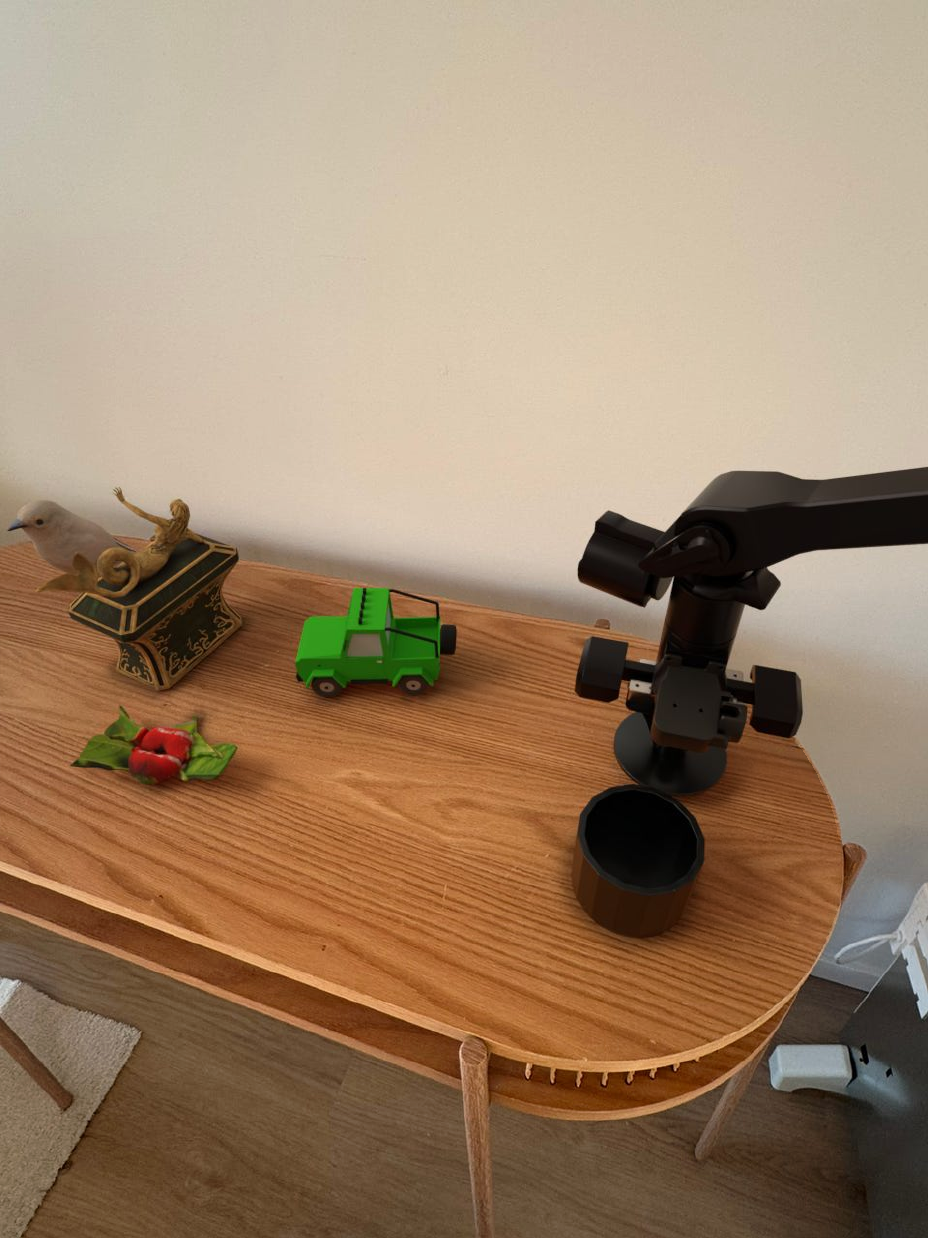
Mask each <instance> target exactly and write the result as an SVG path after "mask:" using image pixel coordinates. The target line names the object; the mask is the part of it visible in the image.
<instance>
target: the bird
mask: <svg viewBox="0 0 928 1238" xmlns="http://www.w3.org/2000/svg"><path fill="white" fill-rule="evenodd" d="M18 529H21V530H23V532H25V534H26V536H27V537H28V538H29V540H30V541H31V543H32V544H33V547H34V549H35V551H36V553H37V555H39V558H40V559H42V560H43V561H44V562H45V563H46V564H48V565H50V566H51V567H53V568H56V569H58V570H60V571H62V572H65V573H72V574H74V575H77V574H78V572H77V571H76V570H75V569H74V568H73V565H72V562H73V556H74V554H75V553H76V552H79V553H81V554H82V555H84V556H85V557H86V558H88V559H89V560H90V561H91V562H92V563H93V564H94V566H95V567H96V570H97V562H98V559H99V557H100V555H101V554H102V553H103V552H104V551H106V550H107V549H110V548H123V549H126V550H128V551H130V552H131V553H132V554H134V553H135V552H137V551H138V550H137V549H135V548H133V547H132V545H131V544H129V543H127V542H124V541H123V540H121V539H118V538H116V537H115V536H113V535H112V534H111V533H110V532H108V531H107V530H106V529H104V527H102V526H100V525H99V524H97V523H96V522H95V521H92V520H90V519H88V518H84V517H82V516H79V515H78V514H76V513H73V512H71V511H70V510H68V509H66V508H64V507H63V506H61V505H59V504H58V503H57V502H55V501H52V500H45V499H39V500H38V499H37V500H34V501H31V502H29V503H26V504H25V505H23V506H22V507H21V509H19V511H18V512H17V515H16V519H15V520H14V521H13V522H12V523H11V524H10V526H9V527H8V529H7V530H6V531H7V532H12V531H15V530H18ZM121 563H123V561H116V562H115V563H114V565H113V567H117V566H118V565H120V564H121ZM97 573H98V579H99V578H101V576H100V574H99V572H98V570H97Z"/></svg>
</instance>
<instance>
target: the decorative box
mask: <svg viewBox="0 0 928 1238" xmlns="http://www.w3.org/2000/svg"><path fill="white" fill-rule="evenodd" d="M112 490H113V491H114V492H115V493H114V492H112V494H113V495H114V496H115V497H116V498H117V499H118V501H119V502H120V503H121V504H122V505H124V506H125V507H126V508H127V509H129V510H130V512H132V513H134V514H135V515H136V516H138V517H139V518H143V519H144V520H146V521H148V522H151V523H153V524H155V525H156V526H155V527H154V532H155V538H154V541H152V542H150V543H149V544H147V545H145V547H142V548H140V549H139V550H137V552H135V553H134V554H132V553H131V552H130V551H128V550H126V549H123V548H110V549H107V550H106V551H104V552H103V553H102V554H101V555H100V557H99V559H98V562H97V570H98V572H99V574H100V576H101V577H100V578H98V573H97V570H96V567H95V566H94V564H93V563H92V562H91V561H90V560H89V559H88V558H86V557H85V556H84V555H82V554H81V553H79V552H76V553H75V554H74V556H73V562H72V565H73V568H74V569H75V570H76V571H77V572H78V574H77V575H74V574H72V573H67V572H65V573H63V574H60V575H58V576H56V577H53V578H52V579H49V580H47V581H45V582H44V583H42V584H41V585H40V586H38V587H37V589H36V591H35V593H36V594H39V593H42V592H46V591H60V592H66V593H77V594H79V595H77V597H76V598H75V599H74V600H73V601H72V602H71V603H70V605H69V606H68V610H67V614H68V616H70V617H69V618H70V619H71V620H72V621H74V622H76V623H79V624H80V625H83V626H86V627H88V628H89V629H92V630H94V631H97V632H99V633H101V634H103V635H105V636H107V637H109V638H112V639H113V640H114V641H115V643H116V645H117V647H118V657H117V660H116V661H117V662H116V671H117V673H120V674H122V675H124V676H125V677H128V678H130V679H133V680H134V681H136V682H138V683H141V684H143V685H145V686H147V687H149V688H151V689H154V690H155V691H158V692H159V691H165V690H169V689H171V687H173V686H174V685H175V684H176V683H178V682H179V681H181V679H182V678H183V677H185V676H186V675H187V674H188V673H189V672H190V671H191V670H192V669H194V668H195V667H196V666H198V665H199V663H201V662H202V661H203V660H204V659H205V658H206V657H208V656H209V655H210V654H211V653H213V651H215V650H216V649H217V648H218V647H219V646H220V645H221V644H222V643H223V642H225V641H226V640H227V639H228V638H229V637H231V635H233V634H234V633H235V632H236V631H238V630H239V629H240V628H241V627H242V626H243V619H242V617H241V616H240V615H239V614H238V612H236V611H235V610H234V609H233V608H232V607H231V606H230V605H229V603H228V602H227V601H226V599H225V596H224V594H223V588H224V584H225V581H226V580H227V579H226V578H227V577H228V576H229V574H230V573H231V572H232V571H233V569H234V567H236V565H237V564H238V562H239V560H240V556H239V555H240V554H239V551H238V548H237V547H235V546H233V545H231V544H227V543H224V542H222V541H219V540H217V539H213V538H210V537H207V536H204V535H202V534H199V533H197V532H194V530H192V529H190V528H188V527H189V523H190V519H191V512H190V508H189V506H188V504H187V503H185V502H184V501H183V500H182V499H181V498H176V499H174V500H172V501H171V502H170V503H169V512H170V514H171V516H172V518H169V519H167V518H165V517H162V516H156V515H153V514H151V513H148V512H146V511H144V510H143V509H141V508H140V507H138V506H137V505H134V504H132V503H130V502H128V501H127V500H126V499H125V496H124V494H123V490H122V488H121V487H120V486H119V487H116V486H115V487H114V488H113V489H112ZM116 561H123V563H121V564H120V565H118V566H117V567H113V565H114V563H115V562H116Z"/></svg>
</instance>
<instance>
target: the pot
mask: <svg viewBox="0 0 928 1238" xmlns="http://www.w3.org/2000/svg"><path fill="white" fill-rule="evenodd" d="M705 854H706V838H705V836H704V834H703V832H702V829H701V827H700V824H699V822H698V820H697V818H696V816H695V815H694V814H693V813H692V812H691V811H690V810H689V809H688V808H687V807H686V806H685V805H684V804H683V803H682V802H681V801H680V800H679V799H678V798H677V797H672V796H670V795H668V794H666V793H664V792H662V791H661V790H659V789H656V788H652V787H647V786H642V785H638V784H637V783H630V784H623V785H615V786H609V787H608V788H606V789H604V790H603V791H601V792H599V793H597V794H596V795H593V796H592V797H591V798H590V799H589V801H588V802H587V803H586V804H585V807H584V808H583V809H582V810H581V812H580V814H579V818H578V826H577V831H576V839H575V846H574V853H573V860H572V867H571V872H570V877H571V884H572V889H573V892H574V896H575V897H576V899H577V901H578V904H579V906H580V907H581V908H582V910H583V911H584V912H585V913H586V914H587V916H588V917H589V918H590V919H591V920H592V921H594V922H595V923H596V924H597V925H599V926H600V927H602V928H604V929H605V930H608V931H609V932H611V933H614V934H616V935H619V936H622V937H627V938H633V939H637V938H638V939H644V938H645V939H646V938H651V937H656V936H659V935H661V934H664V933H666V932H668V931H669V930H670V929H672V928H673V927H675V926H676V924H678V922H679V921H680V920H681V918H682V917H683V915H684V914H685V912H686V909H687V907H688V906H689V903H690V901H691V898H692V895H693V893H694V890H695V888H696V885H697V882H698V879H699V877H700V875H701V871H702V868H703V867H704V863H705V859H706V857H705V856H706V855H705Z"/></svg>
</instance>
